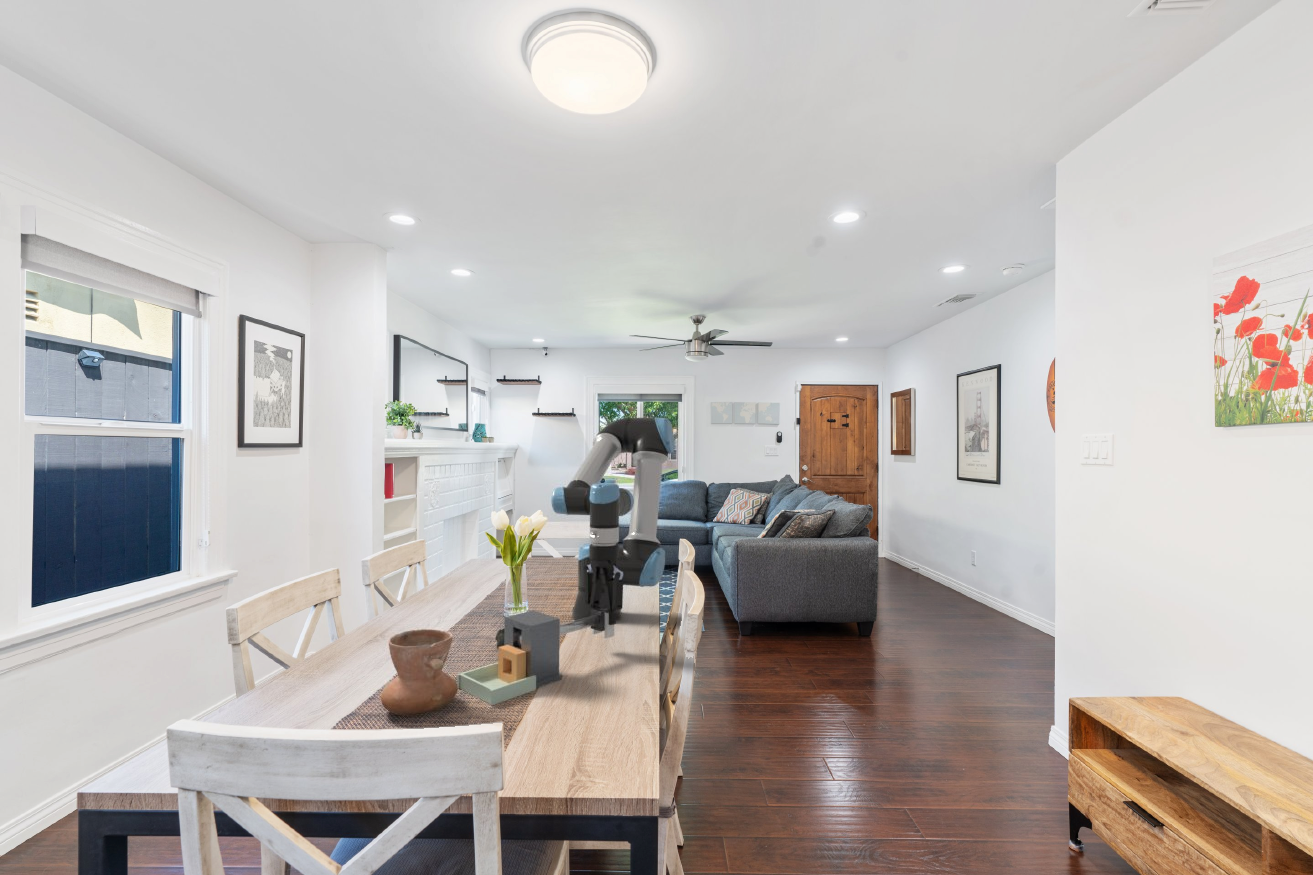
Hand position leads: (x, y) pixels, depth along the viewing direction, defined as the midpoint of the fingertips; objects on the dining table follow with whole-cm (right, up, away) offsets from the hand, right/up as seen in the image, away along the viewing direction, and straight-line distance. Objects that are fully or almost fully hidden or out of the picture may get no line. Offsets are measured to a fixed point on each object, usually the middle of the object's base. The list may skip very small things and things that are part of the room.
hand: (602, 634), depth 157 cm
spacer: (-18, 0, -21) cm, 28 cm away
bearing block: (-15, -4, -17) cm, 23 cm away
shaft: (-8, +2, -9) cm, 12 cm away
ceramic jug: (-35, -4, -33) cm, 48 cm away
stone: (-23, -5, +1) cm, 23 cm away
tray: (-21, -4, -23) cm, 32 cm away
